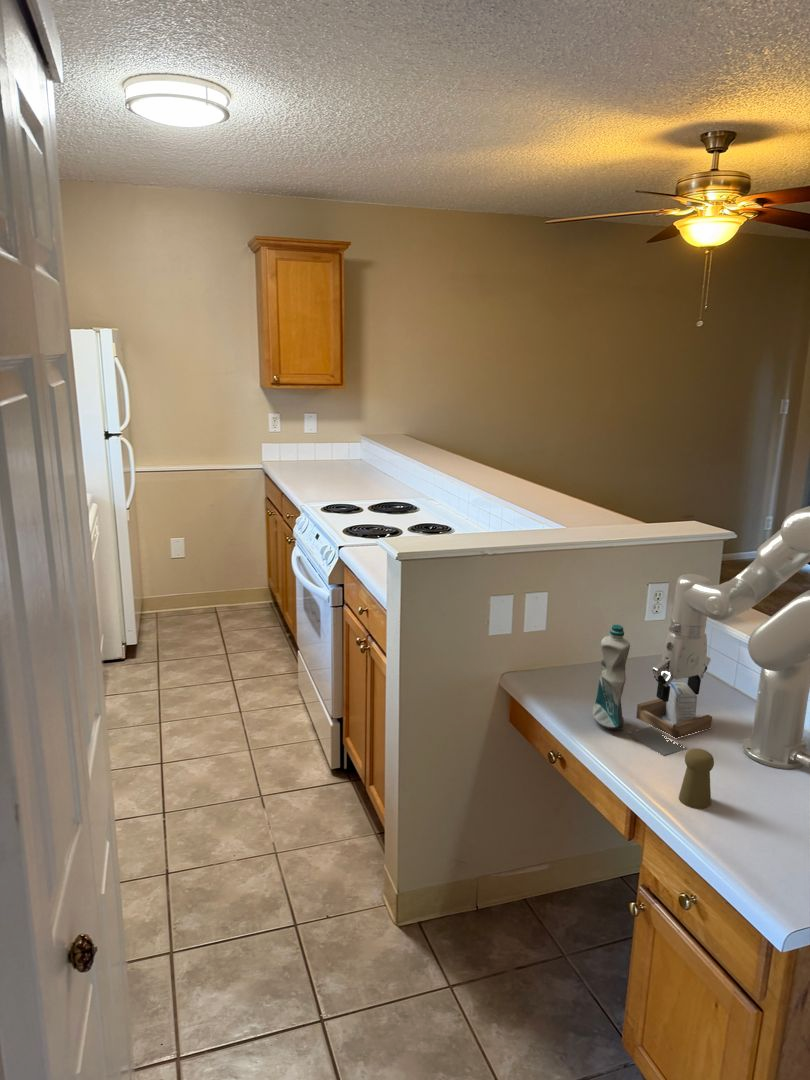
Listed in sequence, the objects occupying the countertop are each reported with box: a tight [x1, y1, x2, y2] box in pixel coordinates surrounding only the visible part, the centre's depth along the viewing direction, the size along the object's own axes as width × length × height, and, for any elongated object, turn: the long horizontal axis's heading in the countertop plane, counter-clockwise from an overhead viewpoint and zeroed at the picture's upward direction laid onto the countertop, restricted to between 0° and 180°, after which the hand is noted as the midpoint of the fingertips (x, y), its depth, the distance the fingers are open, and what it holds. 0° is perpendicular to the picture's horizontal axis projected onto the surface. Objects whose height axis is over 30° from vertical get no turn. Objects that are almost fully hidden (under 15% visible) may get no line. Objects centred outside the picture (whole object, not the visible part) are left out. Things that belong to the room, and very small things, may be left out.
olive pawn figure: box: [678, 748, 715, 810], centre depth 144 cm, size 6×6×11 cm
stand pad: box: [627, 726, 687, 757], centre depth 168 cm, size 11×7×1 cm, turn 27°
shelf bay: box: [636, 698, 713, 738], centre depth 177 cm, size 12×11×4 cm
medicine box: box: [664, 681, 698, 725], centre depth 177 cm, size 8×4×9 cm, turn 179°
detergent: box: [591, 624, 631, 730], centre depth 173 cm, size 13×7×25 cm, turn 5°
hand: (677, 695), depth 177 cm, fingers open, 9 cm apart
